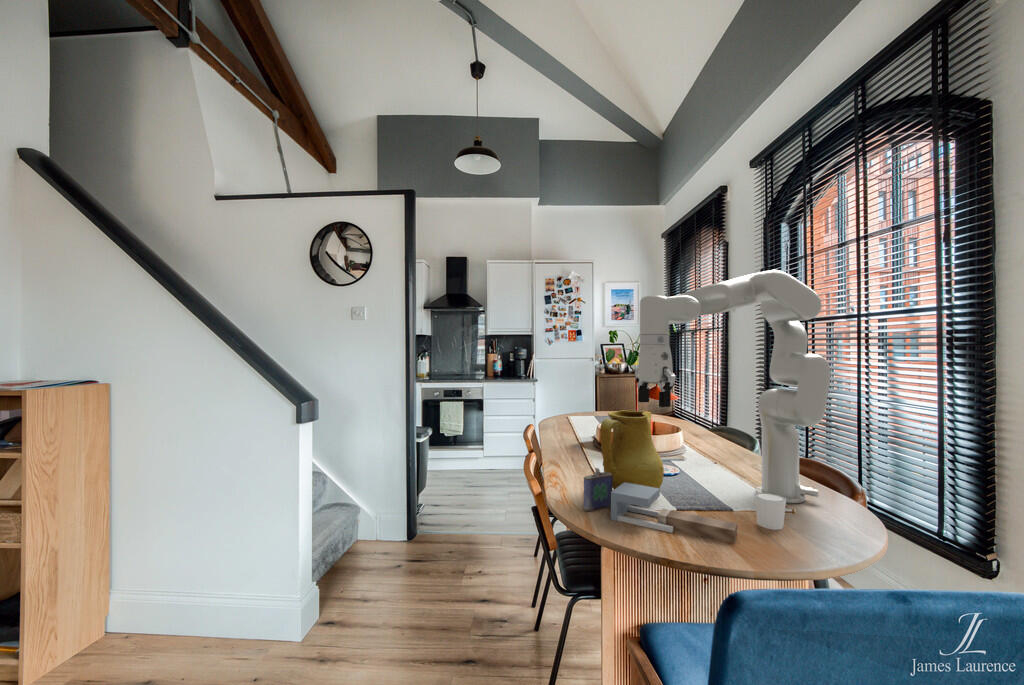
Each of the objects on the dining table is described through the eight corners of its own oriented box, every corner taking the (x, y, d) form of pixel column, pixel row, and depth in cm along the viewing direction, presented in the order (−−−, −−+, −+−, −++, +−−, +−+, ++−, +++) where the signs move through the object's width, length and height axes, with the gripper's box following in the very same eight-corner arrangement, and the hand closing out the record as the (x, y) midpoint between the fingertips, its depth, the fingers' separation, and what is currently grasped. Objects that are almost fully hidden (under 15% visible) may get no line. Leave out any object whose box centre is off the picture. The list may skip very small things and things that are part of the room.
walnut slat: (737, 536, 104) (737, 523, 104) (734, 544, 100) (734, 530, 100) (662, 520, 114) (662, 508, 114) (657, 526, 110) (657, 514, 110)
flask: (587, 512, 119) (587, 471, 119) (580, 508, 121) (580, 469, 121) (614, 507, 123) (614, 467, 123) (607, 503, 125) (607, 465, 125)
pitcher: (674, 505, 123) (669, 413, 124) (606, 507, 124) (601, 416, 125) (655, 487, 140) (651, 407, 141) (596, 489, 141) (592, 409, 142)
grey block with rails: (681, 519, 114) (681, 492, 114) (671, 533, 105) (671, 503, 105) (624, 507, 122) (624, 482, 122) (610, 519, 114) (610, 492, 114)
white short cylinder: (789, 532, 106) (789, 503, 106) (756, 528, 109) (756, 499, 109) (782, 522, 113) (782, 494, 113) (752, 518, 115) (752, 491, 115)
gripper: (686, 341, 114) (686, 408, 114) (648, 341, 131) (647, 400, 131) (661, 341, 112) (660, 409, 112) (625, 341, 129) (624, 401, 129)
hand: (653, 404), depth 121 cm, fingers open, 9 cm apart
